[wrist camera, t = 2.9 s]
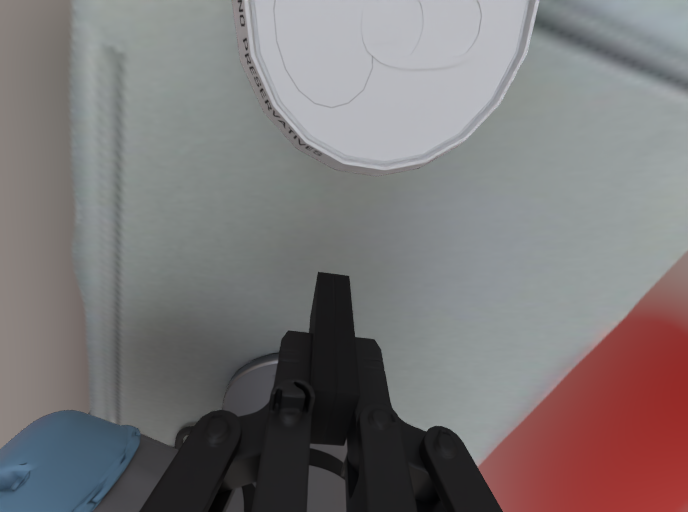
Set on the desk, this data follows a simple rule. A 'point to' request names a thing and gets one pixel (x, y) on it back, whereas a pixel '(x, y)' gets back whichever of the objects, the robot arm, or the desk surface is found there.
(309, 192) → the desk surface
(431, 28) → the supplement can
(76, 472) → the robot arm
